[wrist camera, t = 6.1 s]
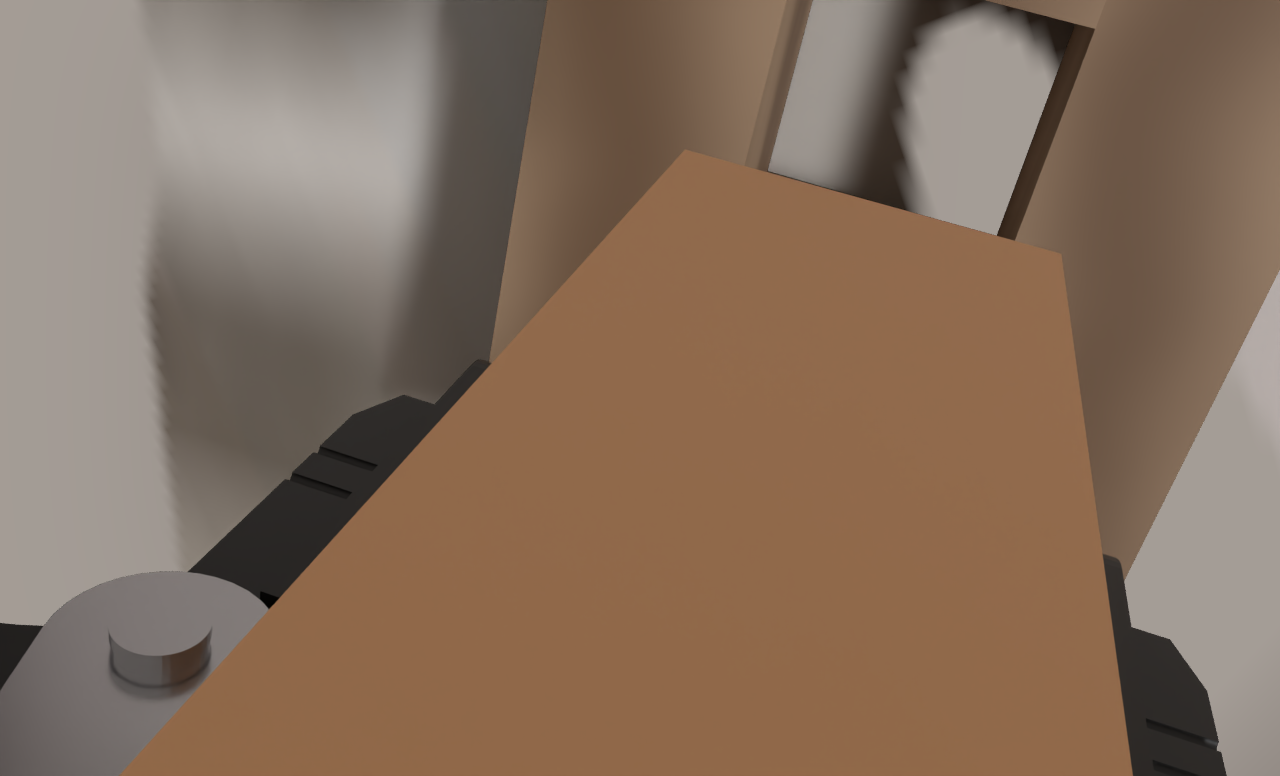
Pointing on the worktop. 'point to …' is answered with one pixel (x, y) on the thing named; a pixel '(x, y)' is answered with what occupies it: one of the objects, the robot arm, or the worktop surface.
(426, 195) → the worktop surface
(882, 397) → the peg
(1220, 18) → the socket block
